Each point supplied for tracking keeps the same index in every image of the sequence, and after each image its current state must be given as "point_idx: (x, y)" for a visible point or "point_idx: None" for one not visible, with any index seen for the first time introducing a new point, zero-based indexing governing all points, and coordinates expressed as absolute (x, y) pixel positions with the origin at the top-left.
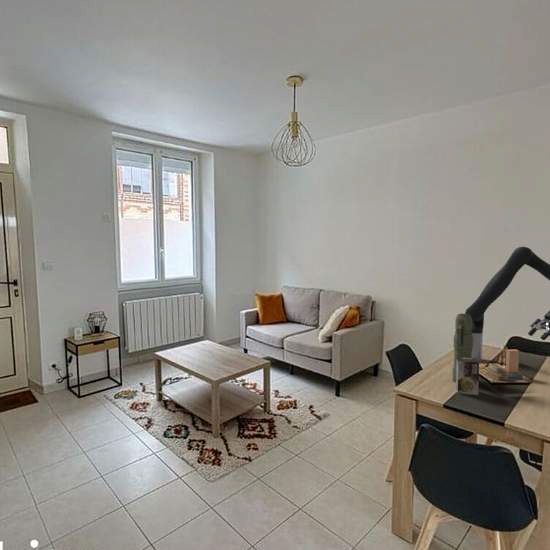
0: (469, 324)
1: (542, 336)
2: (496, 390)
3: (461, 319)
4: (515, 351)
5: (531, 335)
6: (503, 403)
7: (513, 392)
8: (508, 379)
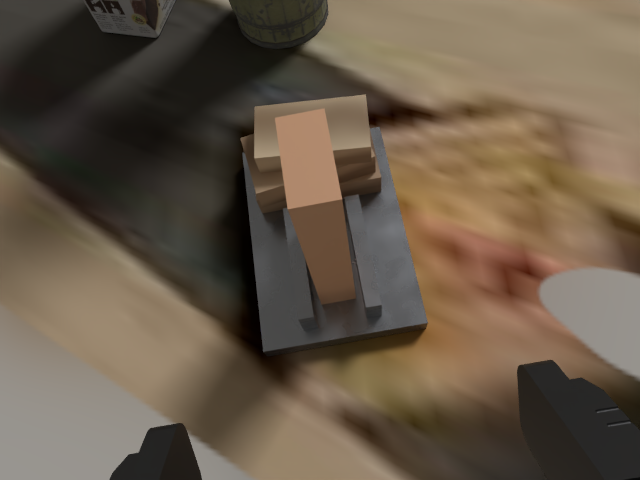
0: None
1: (141, 450)
2: (155, 122)
3: None
4: (283, 176)
5: (528, 436)
6: (9, 97)
7: (121, 190)
8: (270, 221)
